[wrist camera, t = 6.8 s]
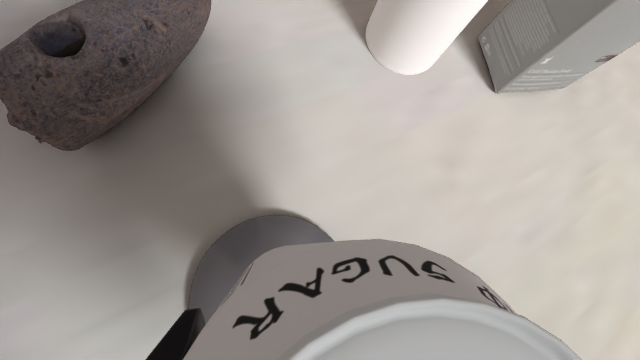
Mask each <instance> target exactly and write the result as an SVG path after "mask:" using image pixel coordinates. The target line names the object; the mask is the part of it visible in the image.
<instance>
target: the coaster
mask: <svg viewBox="0 0 640 360" xmlns="http://www.w3.org/2000/svg"><path fill="white" fill-rule="evenodd" d="M324 242H334V240H333V239H332V238H331V237H330V236H328V235H327V234H326V233H325V232H324V231H323V230H321V229H320V228H318V227H317V226H315V225H313V224H311V223H309V222H307V221H305V220H302V219H299V218H295V217H291V216H283V215H268V216H262V217H257V218H254V219H250V220H248V221H245V222H243V223H241V224H239V225H237V226H235V227H234V228H232V229H230V230H229V231H227V232H226V233H225V234H224V235H222V236H221V237H220V238H219V239H218V240H217V241H216V242H215V243H214V244H213V245H212V246H211V248H210V249H209V250H208V251H207V253H206V254H205V256H204V257H203V259H202V261H201V262H200V264H199V266H198V269H197V271H196V273H195V276H194V279H193V282H192V286H191V291H190V297H189V309H193V308H201V310H202V313H203V316H204V320H205V324H207V322H208V321H209V320H210V318H211V317H212V315H213V314H214V313H215V311H216V310H217V308H218V307H219V306H220V304H221V303H222V302H223V300H224V299H225V297H226V296H227V295H228V293H229V292H230V291H231V289H232V288H233V286H234V285H235V284H236V282H237V281H238V279H239V278H240V277H241V275H242V274H243V273H244V271H245V270H246V269H247V268H248V266H249V265H250V264H251V263H252V262H253V261H254V260H255V259H257V258H258V257H259V256H261V255H262V254H264V253H266V252H268V251H270V250H272V249H274V248H278V247H282V246H287V245H300V244H312V243H324Z"/></svg>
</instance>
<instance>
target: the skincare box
mask: <svg viewBox="0 0 640 360" xmlns="http://www.w3.org/2000/svg"><path fill="white" fill-rule="evenodd" d="M478 38H479V42H480V45H481V48H482V51H483V53H484V56H485V59H486V62H487V65H488V68H489V71H490V75H491V78H492V81H493V84H494V88H495V92H496V93H503V92H528V91H543V90H553V89H561V88H565V87H566V86H568V85H569V84H571V83H573V82H574V81H576V80H578V79H579V78H581V77H583V76H584V75H586V74H587V73H589V72H591V71H592V70H594V69H596V68H597V67H599V66H601V65H602V64H604V63H605V62H607V61H609V60H610V59H612V58H614V57H615V56H617V55H618V54H620V53H622V52H623V51H625V50H626V49H628V48H630V47H631V46H633V45H635V44H636V43H638V42H640V0H511V1H510V2H509V3H508V5H507V6H506V7H505V8H504V9H503V10H502V11H501V12H500V13H499V14H498V15H497V16H496V17H495V19H494V20H493V21H492V22H491V23H490V24H489V25H488V26H487V27H486V28H485V29H484V31H483V32H482V33H481V34H480V35H479V36H478Z"/></svg>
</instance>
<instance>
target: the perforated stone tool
mask: <svg viewBox="0 0 640 360" xmlns="http://www.w3.org/2000/svg"><path fill="white" fill-rule="evenodd" d="M210 10H211V0H84V1H82V2H80V3H77V4H75V5H73V6H71V7H68V8H66V9H64V10H62V11H60V12H58V13H56V14H54V15H51V16H49V17H47V18H46V19H44V20H42V21H40V22H39V23H37V24H36V25H34V26H33V27H32V28H31V29H29V30H28V31H27V32H25V33H24V34H23V35H21V36H20V37H19V38H17V39H16V40H15V41H13V42H11V43H10V44H8V45H7V46H5V47H4V48H3V49H1V50H0V99H1V100H2V102H3V103H4V104H5V105H6V107H7V109H8V111H9V113H8V114H7V118H8V122H9V124H10V125H12V126H14V127H17V128H18V129H19V130H24V131H27V132H28V133H30V134H31V135H34V136H35V138H36V139H37V140H38V141H40V142H39V143H41V142H47V143H48V144H51V145H52V146H53V147H57V148H58V149H61V150H68V151H72V150H77V149H79V148H81V147H83V146H84V145H86V144H88V143H89V142H91V141H93V140H94V139H96V138H97V137H98V136H100V135H102V134H103V133H104V132H106V131H107V130H109V129H110V128H112V127H113V126H115V125H116V124H118V123H119V122H121V121H122V120H123V119H125V118H126V117H127V116H129V115H130V114H131V113H132V112H133V111H134V110H135V109H136V108H137V107H138V106H139V105H141V104H142V103H143V102H144V101H145V100H146V99H147V98H148V97H149V96H150V95H151V94H152V93H153V92H154V91H155V90H156V89H157V88H158V87H159V86H160V85H161V84H162V83H163V82H164V81H165V80H166V79H167V78H168V77H169V76H170V75H171V73H172V72H173V71H174V70H175V69H176V68H177V67H178V66H179V65H180V63H181V62H182V61H183V60H184V59H185V57H186V56H187V55H188V54H189V52H190V51H191V50H192V48H193V47H194V46H195V44H196V43H197V41H198V39H199V38H200V36H201V34H202V32H203V30H204V28H205V26H206V23H207V21H208V18H209V15H210ZM41 144H42V143H41Z"/></svg>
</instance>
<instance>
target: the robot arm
mask: <svg viewBox="0 0 640 360" xmlns="http://www.w3.org/2000/svg"><path fill="white" fill-rule="evenodd" d="M205 325H206V324H205V320H204V316H203V313H202V310H201V308H193V309H187V310H185V311H184V312H183V313H182V315H181V316H180V317H179V318H178V320H177V321H176V322H175V323H174V325H173V326H172V327H171V328H170V330H169V331H168V332H167V333H166V335H165V336H164V337H163V338H162V340H161V341H160V342H159V343H158V345H157V346H156V347H155V348H154V350H153V351H152V352H151V353H150V355H149V356H148V357H147V358H146V360H183V359H184V357H185V356H186V354H187V352H188V351H189V349H190V348H191V346H192V345H193V343H194V341H195V340H196V338H197V337H198V335H199V334H200V332H201V331H202V329H203V328H204V326H205Z"/></svg>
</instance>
